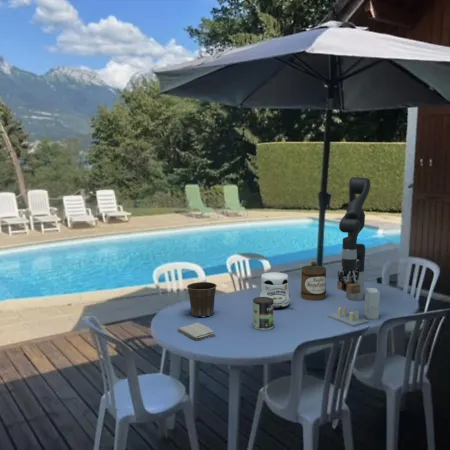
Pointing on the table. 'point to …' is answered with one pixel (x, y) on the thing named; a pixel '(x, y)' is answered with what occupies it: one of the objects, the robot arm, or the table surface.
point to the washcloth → (196, 331)
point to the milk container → (275, 288)
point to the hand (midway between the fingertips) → (348, 289)
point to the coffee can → (263, 313)
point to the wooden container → (313, 282)
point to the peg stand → (348, 317)
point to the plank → (349, 287)
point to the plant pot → (202, 298)
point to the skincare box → (372, 303)
